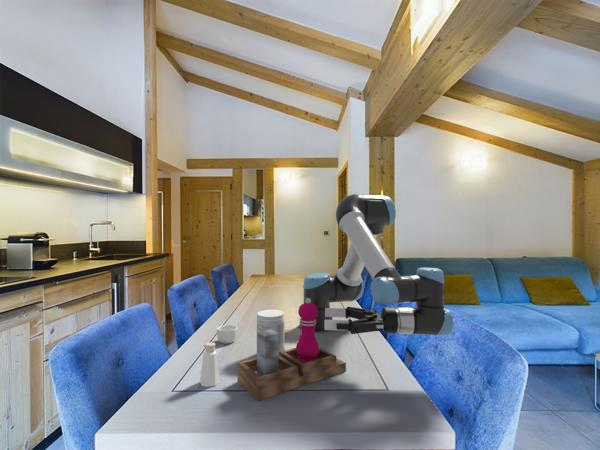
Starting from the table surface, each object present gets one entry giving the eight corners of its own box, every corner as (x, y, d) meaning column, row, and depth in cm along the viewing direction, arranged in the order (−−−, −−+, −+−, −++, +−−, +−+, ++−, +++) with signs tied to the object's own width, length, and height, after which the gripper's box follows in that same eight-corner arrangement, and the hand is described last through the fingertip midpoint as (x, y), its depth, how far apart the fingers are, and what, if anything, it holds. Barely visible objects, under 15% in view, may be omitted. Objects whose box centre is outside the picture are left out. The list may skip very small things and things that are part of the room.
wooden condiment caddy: (320, 357, 110) (320, 314, 110) (345, 370, 100) (346, 323, 100) (237, 381, 92) (237, 330, 93) (258, 401, 82) (258, 343, 82)
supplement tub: (278, 348, 118) (278, 308, 118) (289, 358, 109) (289, 314, 110) (252, 353, 114) (253, 311, 114) (261, 363, 105) (262, 317, 105)
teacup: (233, 346, 120) (233, 331, 120) (213, 344, 122) (213, 330, 122) (241, 337, 130) (241, 323, 130) (223, 335, 131) (223, 322, 131)
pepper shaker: (212, 376, 96) (212, 339, 96) (223, 382, 92) (224, 343, 92) (195, 383, 92) (196, 344, 92) (207, 389, 88) (207, 348, 88)
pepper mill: (294, 359, 102) (295, 295, 103) (317, 358, 103) (318, 295, 103) (296, 369, 95) (297, 300, 95) (321, 368, 96) (321, 300, 96)
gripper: (406, 348, 84) (324, 345, 86) (388, 321, 109) (325, 319, 111) (406, 319, 84) (324, 316, 86) (388, 298, 109) (325, 297, 111)
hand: (324, 318), depth 99 cm, fingers open, 13 cm apart
